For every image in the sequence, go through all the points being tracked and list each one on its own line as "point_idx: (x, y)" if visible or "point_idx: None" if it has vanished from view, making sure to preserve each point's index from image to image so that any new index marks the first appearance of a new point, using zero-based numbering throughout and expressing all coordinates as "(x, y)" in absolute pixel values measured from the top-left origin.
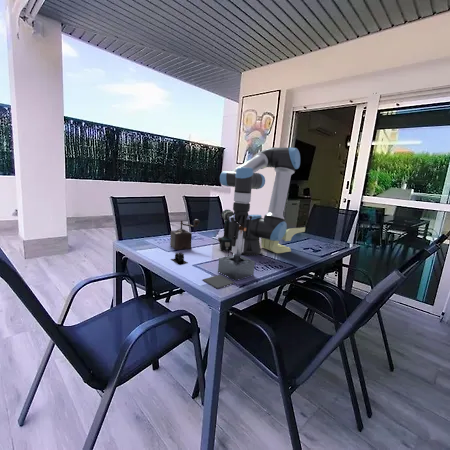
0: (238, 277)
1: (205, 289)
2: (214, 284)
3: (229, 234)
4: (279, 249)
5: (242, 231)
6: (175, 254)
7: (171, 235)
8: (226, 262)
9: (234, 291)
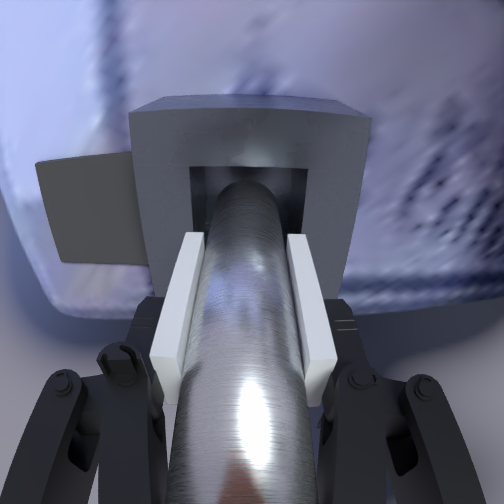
0: None
1: (26, 238)
2: (60, 234)
3: (43, 424)
4: None
5: None
6: None
7: None
8: (142, 205)
9: (114, 303)
